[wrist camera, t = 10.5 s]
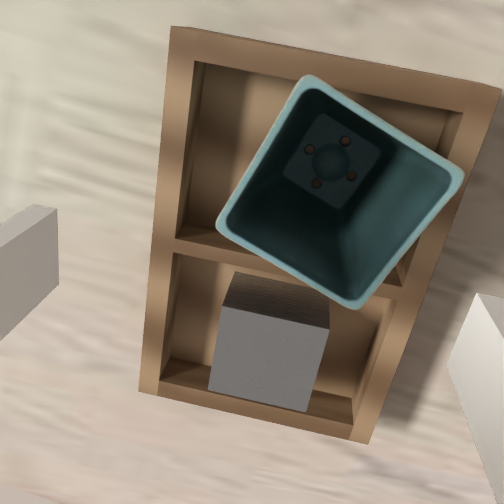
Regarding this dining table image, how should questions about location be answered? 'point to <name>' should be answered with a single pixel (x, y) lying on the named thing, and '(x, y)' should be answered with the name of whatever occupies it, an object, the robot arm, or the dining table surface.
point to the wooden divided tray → (242, 260)
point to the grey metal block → (270, 341)
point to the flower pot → (336, 194)
